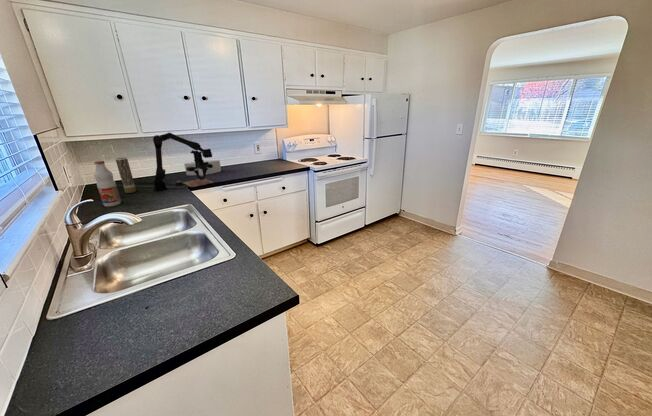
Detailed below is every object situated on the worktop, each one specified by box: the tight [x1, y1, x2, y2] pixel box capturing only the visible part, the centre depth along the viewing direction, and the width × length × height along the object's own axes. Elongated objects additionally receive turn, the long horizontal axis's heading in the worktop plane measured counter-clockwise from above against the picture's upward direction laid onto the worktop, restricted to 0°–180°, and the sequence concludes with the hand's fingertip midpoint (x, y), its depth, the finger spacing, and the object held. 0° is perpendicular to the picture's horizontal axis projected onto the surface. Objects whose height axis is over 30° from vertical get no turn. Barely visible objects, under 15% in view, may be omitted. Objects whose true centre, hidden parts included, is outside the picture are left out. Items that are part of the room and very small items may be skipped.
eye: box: [198, 175, 206, 180], centre depth 216 cm, size 4×4×3 cm
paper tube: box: [115, 157, 137, 194], centre depth 193 cm, size 7×7×25 cm
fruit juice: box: [93, 160, 122, 207], centre depth 168 cm, size 9×9×28 cm
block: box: [183, 159, 222, 176], centre depth 248 cm, size 15×30×11 cm, turn 119°
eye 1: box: [175, 180, 183, 187], centre depth 213 cm, size 4×4×3 cm
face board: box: [182, 178, 215, 188], centre depth 219 cm, size 18×18×1 cm
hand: (201, 177), depth 216 cm, fingers closed on eye, 4 cm apart
